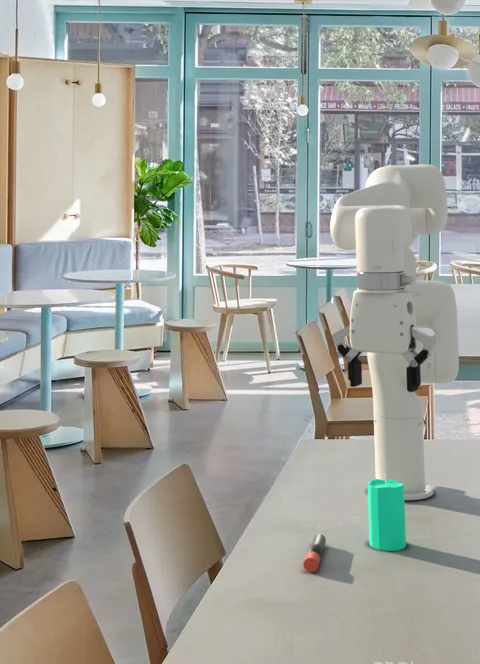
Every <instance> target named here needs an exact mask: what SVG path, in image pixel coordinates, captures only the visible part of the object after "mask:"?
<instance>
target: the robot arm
mask: <svg viewBox="0 0 480 664" xmlns="http://www.w3.org/2000/svg"><path fill="white" fill-rule="evenodd" d="M446 185H447V184H446V180H445V178H444V175H443V173H442V172H441V170H440V169H439V168H438V167H436V166H435V165H433V164H427V163H426V164H424V163H423V164H420V163H419V164H397V165H385V166H381V167H379V168H376V169H374V170H373V171H372V172H371V173H370V175H369V176H368V178H367V181H366V184H365V187H363V188H360V189H358V190H355V191H352V192H349V193H347V194H343V196H341V197H340V198H339V199H338V200H337V201H336V203H335V204H334V207H333V210H332V212H331V213H332V214H331V218H330V227H329V231H330V236H331V240H332V242H333V244H334V245H335V246H336V247H337V248H338V249H341V250H343V251H355V260H356V261H355V262H356V263H355V264H356V289H357V290H354V291H353V295H352V299H351V306H350V315H349V325H348V326H346V327H344V328H342V329H340V330H338V331H336V332H333V334H332V335H331V339H332V341H333V343H334V345H335V346H336V350H337V352H339V354H340V355H341V356H342V357H343V358H344V361H345V362H346V363H347V379H348V381H349V387H351V388H356V387H359V386H361V385H362V384H363V370H362V369H363V368H362V361H361V360H360V359H359V358H360V357H361V355H362V354H363V353H366V357H367V359H366V360H367V364H368V370H369V374H370V382H371V389H372V390H371V391H372V404H373V405H372V407H373V409H372V410H373V434H374V435H373V437H374V438H373V440H374V470H375V479H380V480H385V474H386V480H395V481H397V482H399V483H401V484H404V499H405V501H419V500H424V499H428V498H430V497H432V496H433V495H434V487H433V486H432V484H429V483H428V482H426V479H425V478H426V473H425V470H426V469H425V443H424V411H423V404H422V401H421V399H420V398H419V397H418V395H417V393H416V391H418V390H419V387H421V383H422V384H448V383H452V382H454V381H455V380H456V379H457V377H458V375H459V368H460V354H459V353H460V352H459V332H458V331H459V329H458V308H457V299H456V295H455V291H454V289H453V287H452V285H450V283H448V282H446V281H443V280H429V279H428V280H427V279H426V280H424V279H423V280H419V279H418V277H417V258H416V254H415V253H414V252H413V250H412V249H411V248H410V246H411V245H412V244H413V243H414V241H415V240H416V239H417V236H418V235H435V234H439V233H441V232H442V231H444V229H445V228H446V226H447V223H448V218H449V211H448V195H447V194H448V193H447V186H446ZM421 329H431V330H432V331H433V332H434V334H427V333H426V332H424V331H422V330H421ZM346 337H349V345H350V347H349V346H348V344H346V341H345V338H346Z"/></svg>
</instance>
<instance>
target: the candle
mask: <svg viewBox="0 0 480 664" xmlns="http://www.w3.org/2000/svg"><path fill="white" fill-rule="evenodd" d="M405 501H406V500H405V499H404V484H401V483H399V482H397V481H395V480H386V474H385V480H380V479H376V478H374V479H372V480H369V481H368V482H367V509H368V510H367V511H368V512H367V513H368V514H367V515H368V542H369V545H370V547H371V548H373V549H375V550H379V551H386V552H394V551H401V550H404V549H405V548H406V546H407V538H406V537H407V536H406V504H405V503H406V502H405Z"/></svg>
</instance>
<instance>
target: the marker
mask: <svg viewBox="0 0 480 664" xmlns="http://www.w3.org/2000/svg"><path fill="white" fill-rule="evenodd" d="M326 542H327V539H326V537H325V535H323V534H321V533H317V534H315V535H314V536H313V540H312V542H311V544H310V548H309V551H308V552H307V553H306V555H305V558H304V560H303V563H302V564H303V568H304V570H305V571H307V572H308V573H316V571H317V570H318V568H319V567H320V566H319V565H320V562H321V558H322V556H323V555H322V554H323V552H324V549H325V546H326Z"/></svg>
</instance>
